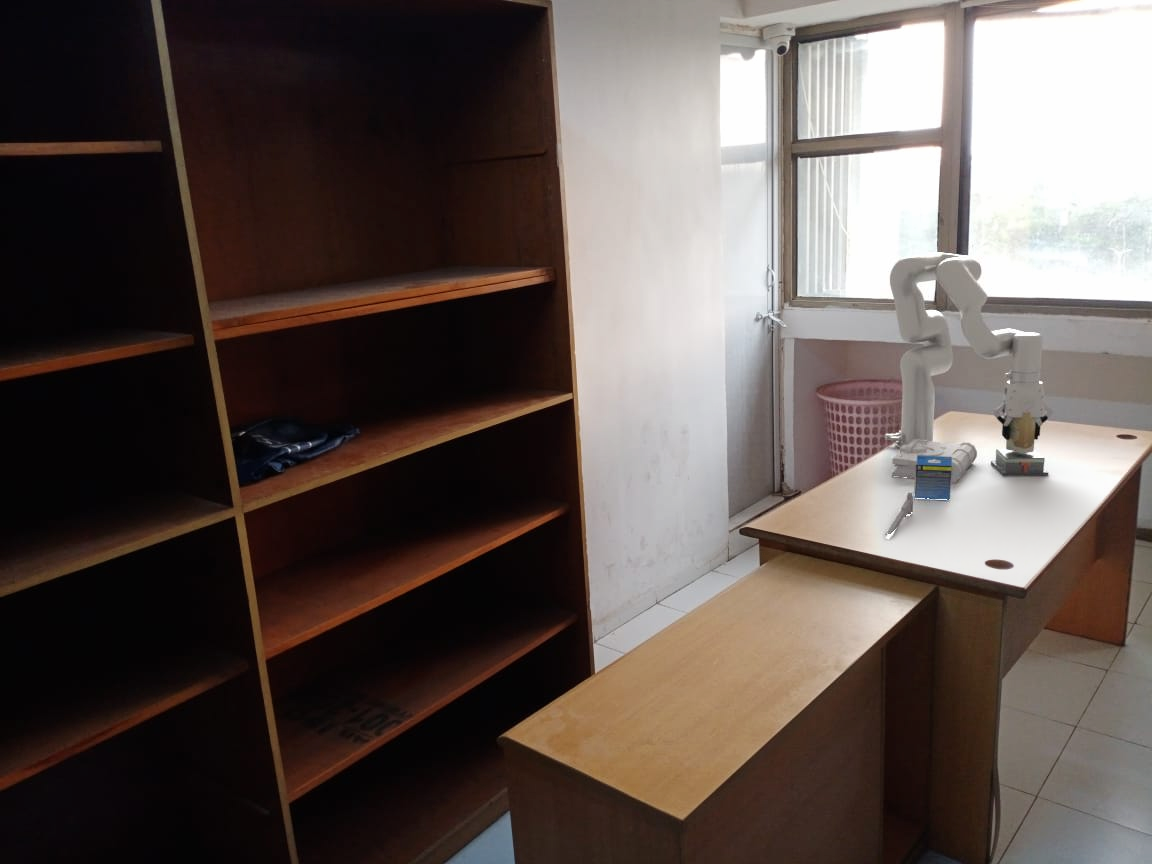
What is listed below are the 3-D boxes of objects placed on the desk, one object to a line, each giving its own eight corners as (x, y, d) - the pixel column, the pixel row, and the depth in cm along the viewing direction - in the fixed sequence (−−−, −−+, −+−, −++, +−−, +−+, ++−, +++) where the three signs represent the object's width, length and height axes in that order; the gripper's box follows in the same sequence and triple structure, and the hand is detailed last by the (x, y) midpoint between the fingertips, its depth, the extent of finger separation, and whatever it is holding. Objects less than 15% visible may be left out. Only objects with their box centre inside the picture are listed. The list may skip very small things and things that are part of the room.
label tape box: (949, 496, 247) (951, 452, 243) (950, 501, 243) (952, 456, 240) (914, 495, 249) (915, 451, 246) (914, 500, 245) (916, 455, 242)
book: (980, 459, 277) (981, 435, 276) (959, 486, 255) (959, 459, 253) (914, 454, 288) (914, 430, 286) (888, 478, 266) (888, 453, 264)
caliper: (908, 514, 236) (909, 490, 235) (913, 515, 235) (913, 491, 234) (884, 540, 220) (885, 515, 218) (889, 541, 219) (889, 516, 218)
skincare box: (1005, 449, 266) (1006, 408, 263) (1016, 447, 268) (1017, 405, 265) (1024, 454, 260) (1025, 412, 257) (1035, 451, 262) (1037, 409, 259)
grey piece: (1002, 476, 261) (1003, 459, 259) (990, 463, 272) (991, 447, 271) (1048, 475, 259) (1049, 458, 257) (1034, 463, 270) (1035, 447, 269)
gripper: (995, 380, 256) (991, 442, 261) (1062, 379, 254) (1057, 441, 258) (988, 375, 264) (984, 435, 268) (1053, 373, 261) (1048, 434, 265)
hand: (1020, 438), depth 263 cm, fingers open, 7 cm apart
